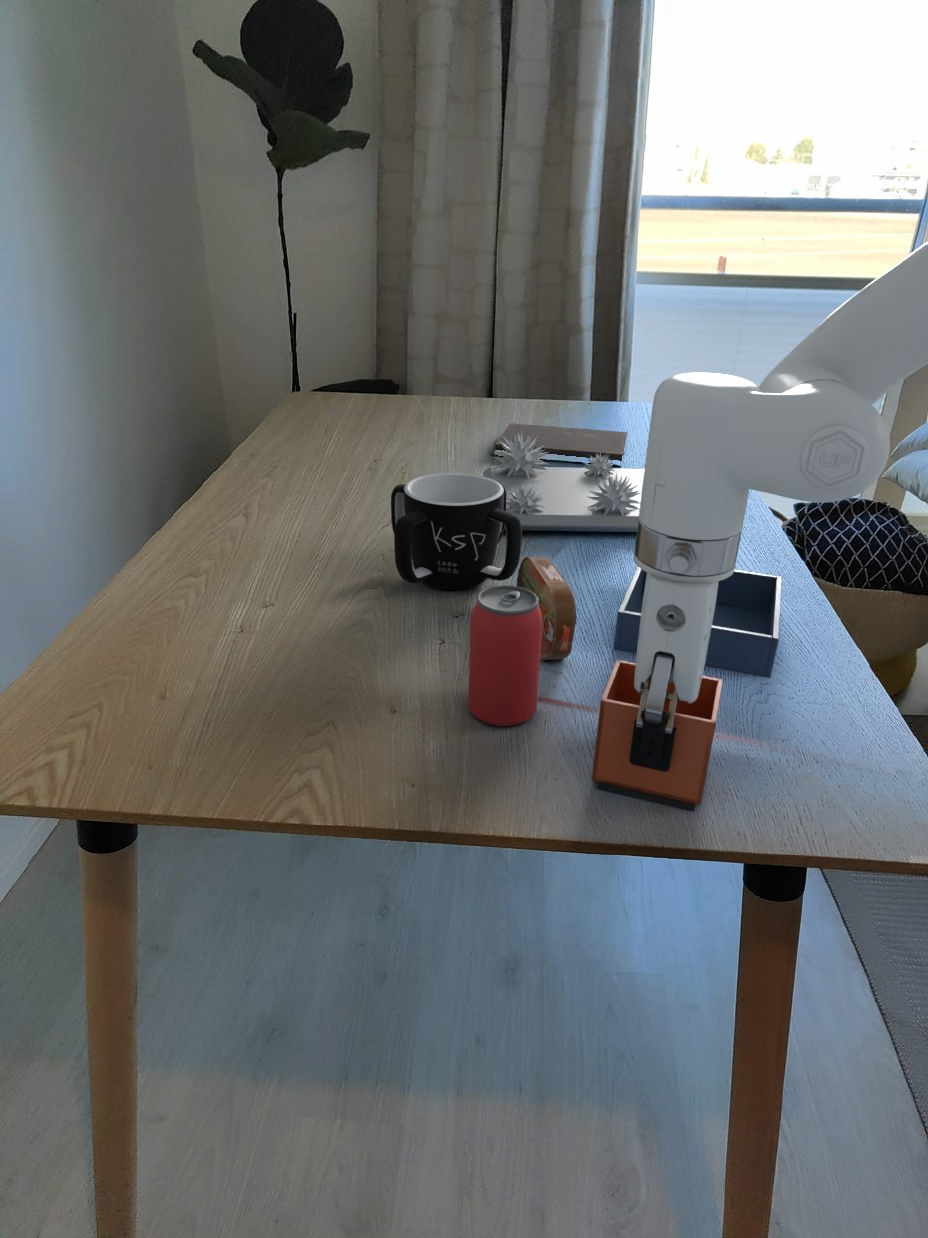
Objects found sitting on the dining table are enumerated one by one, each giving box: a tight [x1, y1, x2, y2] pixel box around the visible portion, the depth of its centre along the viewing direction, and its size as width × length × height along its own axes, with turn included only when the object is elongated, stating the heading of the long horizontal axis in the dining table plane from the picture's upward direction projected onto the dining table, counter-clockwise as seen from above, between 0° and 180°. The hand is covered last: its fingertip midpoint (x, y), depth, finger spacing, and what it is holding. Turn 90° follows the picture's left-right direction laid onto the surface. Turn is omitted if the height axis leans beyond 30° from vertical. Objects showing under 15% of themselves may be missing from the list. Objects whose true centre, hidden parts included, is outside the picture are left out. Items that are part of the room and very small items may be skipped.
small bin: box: [591, 659, 724, 806], centre depth 72 cm, size 9×7×8 cm
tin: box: [516, 556, 577, 662], centre depth 93 cm, size 15×3×8 cm, turn 10°
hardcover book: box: [494, 422, 628, 462], centre depth 161 cm, size 16×23×2 cm
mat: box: [596, 782, 696, 812], centre depth 74 cm, size 8×8×1 cm
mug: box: [390, 472, 523, 591], centre depth 106 cm, size 16×16×12 cm
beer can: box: [467, 584, 543, 727], centre depth 79 cm, size 7×7×12 cm
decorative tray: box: [482, 430, 645, 533], centre depth 131 cm, size 35×26×10 cm
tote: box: [613, 566, 783, 679], centre depth 96 cm, size 16×16×5 cm
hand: (656, 738), depth 72 cm, fingers open, 7 cm apart
